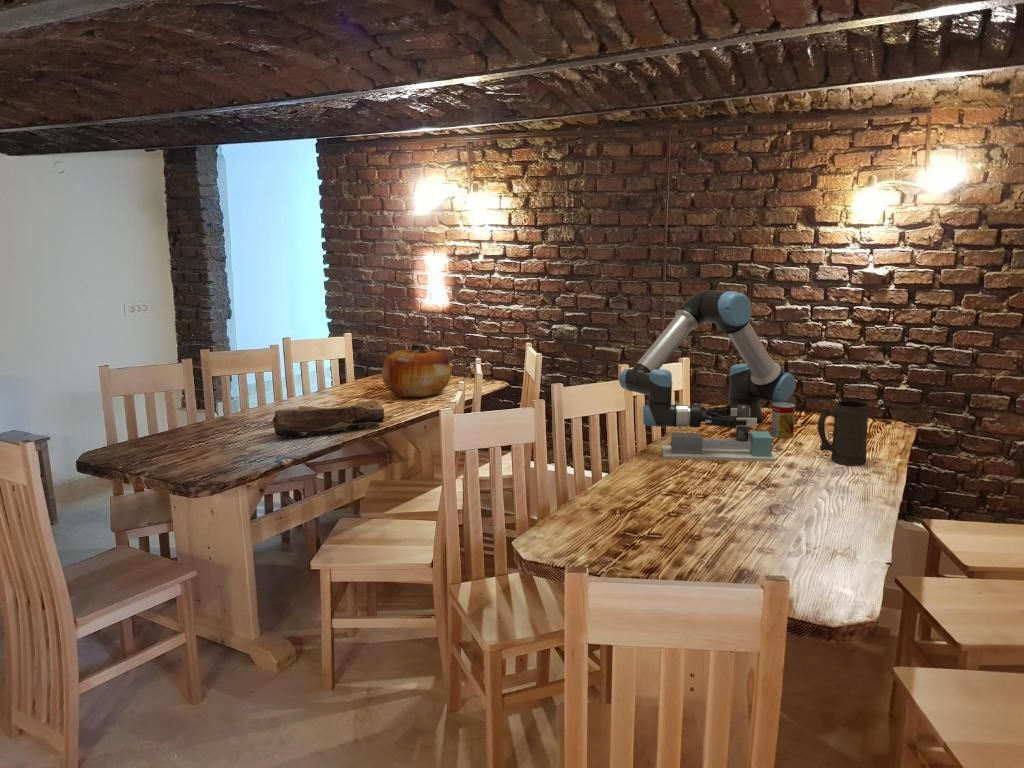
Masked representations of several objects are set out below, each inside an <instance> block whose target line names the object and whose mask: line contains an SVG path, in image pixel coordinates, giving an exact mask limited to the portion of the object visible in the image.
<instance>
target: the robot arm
mask: <svg viewBox="0 0 1024 768" xmlns="http://www.w3.org/2000/svg"><path fill="white" fill-rule="evenodd" d="M752 308H753V307H752V302H751V300H750V299H749V298H748V296H747V295H745V294H744V293H742V292H737V291H733V290H729V291H728V290H715V289H714V290H712V289H704V290H701V291H699V292H697V293H695V294H693V295H692V296H691V297H689V298H687V300H686V301H685V302H683V304H682V305H680V307H679V308H678V309H677V310H676V311H675V313H674V315H675V317H673V319H672V320H671V322H670V323H669V324H668V325H667V326H666V328H665V329H664V330H663V331H662V332H661V333H660V335H659V336H658V337H657V338H656V339H655V341H654V342H653V343H652V344H651V346H650V347H648V349H647V350H646V352H645V353H644V354H643V355H642V356H641V357H640V358H639V360H638V361H637V363H636V364H635V365H634V366H633V368H626V369H624V370H622V371H621V372H620V373H619V374H620V375H619V377H618V383H619V385H620V387H621V388H622V389H625V390H626V391H630V392H634V393H638V394H642V395H646V396H648V403H647V404H645V403H644V405H643V407H642V408H643V411H642V422H643V425H645V426H649V427H656V428H658V427H670V428H672V427H675V428H676V427H678V429H682V427H683V428H688V426H689V427H690V428H700V427H701V426H702V422H703V423H704V425H706V426H715V427H723V428H730V429H733V430H736V427H737V426H749V428H750V427H752V428H754V427H756V428H757V426H758V424H759V425H760V424H761V423H763V421H764V415H763V413H762V409H761V404H760V400H764V401H768V402H769V401H770V402H771V403H772V402H773V403H777V402H786V403H787V401H789V400H790V399H791V397H792V395H793V394H794V392H795V388H796V380H795V376H794V375H793V374H791V373H789V372H785V371H784V370H783V369H782V367H781V365H780V364H779V363H778V362H776V361H773V360H772V358H771V357H770V355H769V353H768V352H767V350H766V348H765V346H764V345H763V343H762V341H761V340H760V338H759V336H758V335H757V333H756V331H755V329H754V328H753V326H752V324H751V318H752V314H753V310H752ZM703 323H712V324H715V325H716V326H717V328H718V329H719V330H720V332H721V333H722V334H724V335H728V337H729V339H730V340H731V342H732V344H733V345H734V347H735V348H736V350H737V351H738V353H739V355H740V356H741V358H742V360H743V361H744V363H738V364H733V365H732V366H731V367H730V369H729V371H730V372H729V375H728V376H729V377H728V378H729V382H728V384H729V386H728V402H727V405H726V406H717V407H706V408H704V407H703V408H702V405H700V404H690V405H688V404H672V391H673V390H672V389H673V377H672V376H673V375H672V372H671V371H670V370H668V369H663V368H662V366H663V365H664V364H665V363H666V362H667V360H668V359H669V358H670V357H671V356H672V355H673V353H674V352H675V351H676V350H677V348H679V346H680V345H681V343H682V342H683V341H684V340H685V339H686V338H687V336H688V335H689V334H690V333H691V331H692V330H696V329H697V328H699V327H700V325H702V324H703ZM661 368H662V369H661ZM741 404H744V405H749V406H750V414H749V418H737V405H741Z"/></svg>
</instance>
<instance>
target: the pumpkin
mask: <svg viewBox="0 0 1024 768" xmlns="http://www.w3.org/2000/svg"><path fill="white" fill-rule="evenodd" d="M452 371H453V370H452V365H451V362H450V360H449V358H448V357H447V356H446V355H445V354H443V353H442V352H440V351H437V350H432V349H430V350H429V349H426V348H425V345H423V344H422V343H413V344H412V345H411V349H403V350H402V349H400V350H395V351H393V352H391V353H390V354H389V355H387V356H386V358H385V359H384V361H383V365H382V371H381V375H382V382H383V383H384V385H385V387H386V389H387V390H389V392H391V393H393V394H394V395H396V396H397V397H405V398H408V397H412V398H413V397H414V398H417V397H418V398H422V397H429V396H432V395H436V394H439V393H441V392H442V391H443V390H444V389H445V388H446V387H447V385H448V384H449V381H450V380H451V375H452Z"/></svg>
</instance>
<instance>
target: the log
mask: <svg viewBox="0 0 1024 768" xmlns="http://www.w3.org/2000/svg"><path fill="white" fill-rule="evenodd" d="M274 413H275V414H274V416H273V418H272V422H271V423H272V424H273V425H272V426H273V429H274V433H275V436H276V437H285V438H287V439H289V438H290V439H293V438H297V437H302V436H303V437H308V436H310V437H311V436H316V435H322V434H323V435H324V434H331V433H332V434H333V433H339V432H352V431H361V430H365V429H367V428H369V427H372V426H375V425H378V424H382V423H383V422H384V418H385V408H384V407H383V406H381V404H380V403H379V402H378V401H377V399H370V400H365V401H359V402H357V403H355V404H349V405H345V406H337V407H336V406H335V407H327V408H326V407H325V408H323V407H318V406H317V407H316V406H303V405H301V406H300V405H299V406H298V409H297V408H296V409H283V410H282V409H281V410H275V411H274Z"/></svg>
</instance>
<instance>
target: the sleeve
mask: <svg viewBox="0 0 1024 768" xmlns="http://www.w3.org/2000/svg"><path fill="white" fill-rule="evenodd" d="M702 438H703V435H702V433H701V432H680V431H679V432H678V431H677V432H675V431H674V432H672V431H671V439H670V446H671V451H672V453H684V454H702Z"/></svg>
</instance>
